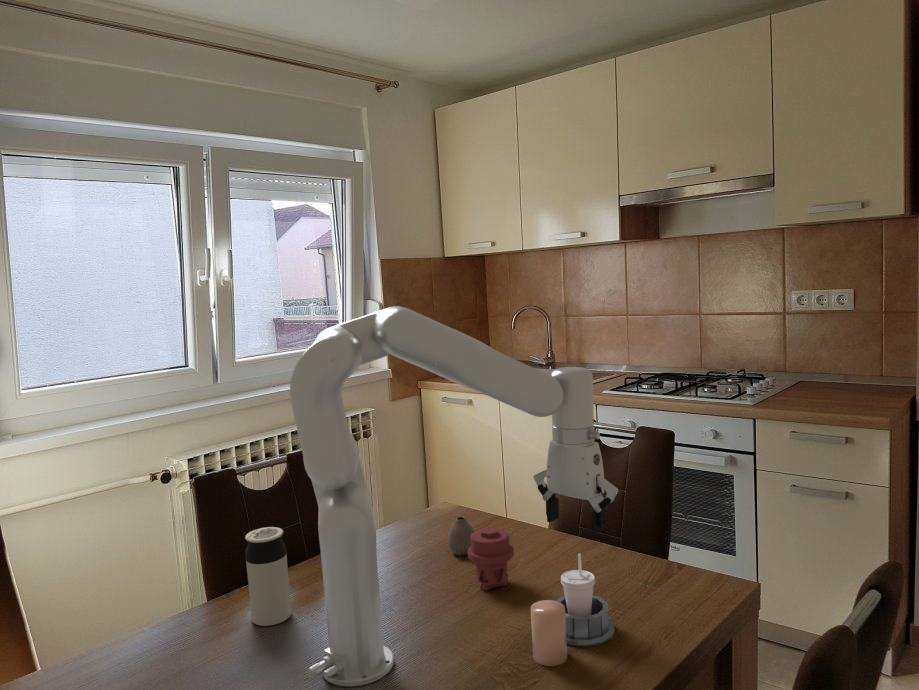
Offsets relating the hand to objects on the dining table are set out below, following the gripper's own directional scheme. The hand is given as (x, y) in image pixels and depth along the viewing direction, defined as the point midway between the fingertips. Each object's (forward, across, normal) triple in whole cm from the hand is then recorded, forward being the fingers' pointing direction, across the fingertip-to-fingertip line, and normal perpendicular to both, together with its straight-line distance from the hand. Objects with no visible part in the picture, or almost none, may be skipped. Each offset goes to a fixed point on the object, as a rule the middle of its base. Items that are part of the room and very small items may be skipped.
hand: (575, 525), depth 130 cm
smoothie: (+20, 0, 0) cm, 20 cm away
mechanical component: (+21, +25, -7) cm, 34 cm away
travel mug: (+22, +54, +30) cm, 66 cm away
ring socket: (+20, -1, -1) cm, 21 cm away
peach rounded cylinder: (+21, -1, +10) cm, 23 cm away
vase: (+21, +42, -17) cm, 50 cm away
